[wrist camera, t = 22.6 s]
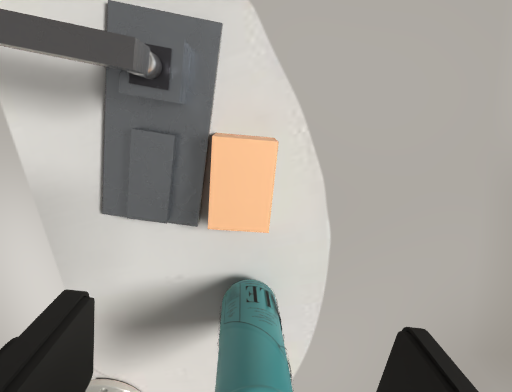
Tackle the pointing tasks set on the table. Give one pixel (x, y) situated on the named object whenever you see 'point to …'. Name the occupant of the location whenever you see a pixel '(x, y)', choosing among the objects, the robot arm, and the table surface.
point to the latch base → (159, 117)
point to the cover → (241, 182)
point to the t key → (77, 43)
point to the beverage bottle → (251, 342)
